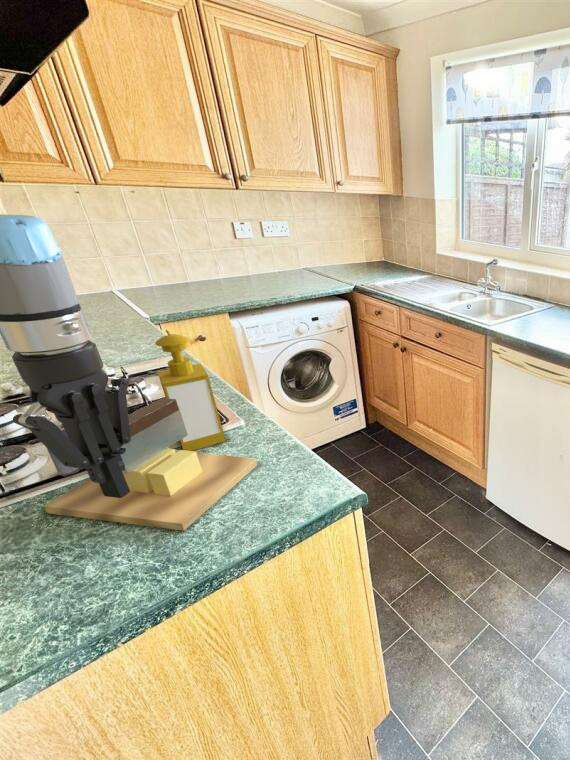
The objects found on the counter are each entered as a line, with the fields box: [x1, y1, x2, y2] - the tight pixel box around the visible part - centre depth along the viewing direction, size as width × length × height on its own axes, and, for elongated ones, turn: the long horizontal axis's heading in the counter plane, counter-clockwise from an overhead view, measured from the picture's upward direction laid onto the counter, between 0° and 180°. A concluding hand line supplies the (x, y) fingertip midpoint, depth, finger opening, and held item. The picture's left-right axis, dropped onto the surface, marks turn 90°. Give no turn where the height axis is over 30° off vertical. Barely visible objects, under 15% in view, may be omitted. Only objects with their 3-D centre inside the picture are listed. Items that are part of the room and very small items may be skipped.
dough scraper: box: [121, 397, 188, 474], centre depth 71 cm, size 2×12×8 cm, turn 174°
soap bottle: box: [154, 329, 227, 451], centre depth 87 cm, size 7×13×24 cm, turn 43°
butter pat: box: [147, 449, 202, 496], centre depth 74 cm, size 3×7×4 cm, turn 174°
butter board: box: [44, 449, 258, 532], centre depth 76 cm, size 24×18×2 cm
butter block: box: [122, 448, 176, 493], centre depth 75 cm, size 9×7×4 cm
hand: (117, 493), depth 63 cm, fingers closed
